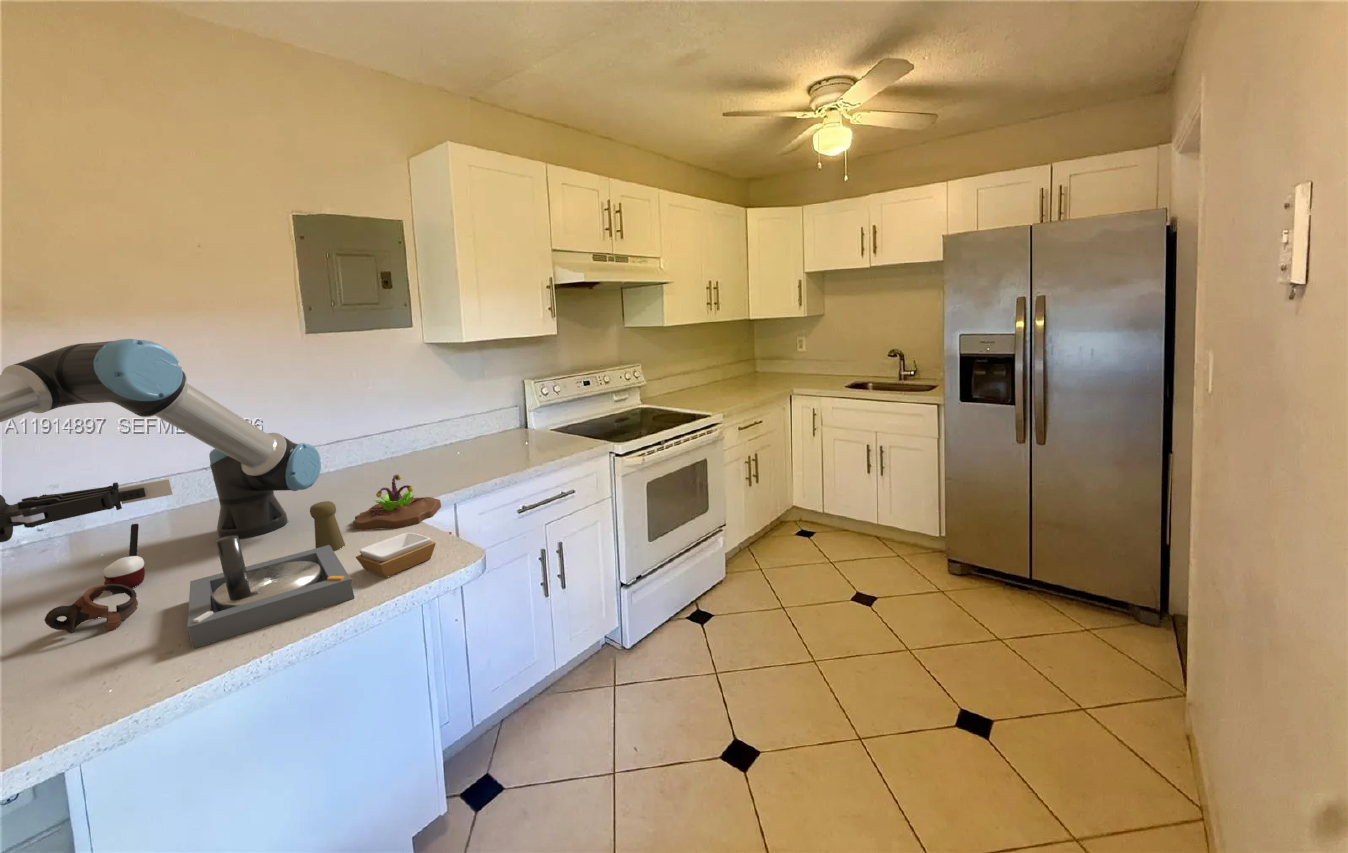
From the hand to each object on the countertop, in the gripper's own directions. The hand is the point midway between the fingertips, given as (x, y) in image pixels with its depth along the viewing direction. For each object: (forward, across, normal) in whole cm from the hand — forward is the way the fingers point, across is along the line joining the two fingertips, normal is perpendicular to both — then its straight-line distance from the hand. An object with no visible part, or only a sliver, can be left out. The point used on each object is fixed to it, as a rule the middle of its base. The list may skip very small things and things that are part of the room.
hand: (170, 486), depth 103 cm
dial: (+11, -1, -23) cm, 26 cm away
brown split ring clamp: (-15, -13, -26) cm, 33 cm away
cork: (+24, -23, -25) cm, 42 cm away
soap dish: (+33, 0, -26) cm, 42 cm away
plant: (+42, -35, -26) cm, 60 cm away
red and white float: (-12, -33, -26) cm, 44 cm away
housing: (+11, -1, -25) cm, 27 cm away
